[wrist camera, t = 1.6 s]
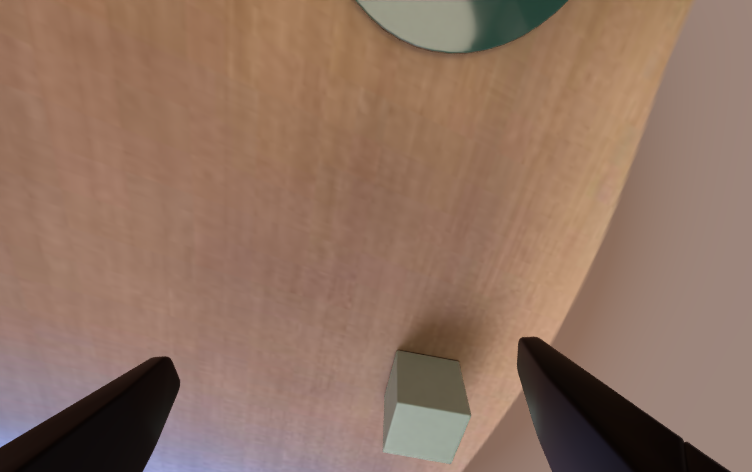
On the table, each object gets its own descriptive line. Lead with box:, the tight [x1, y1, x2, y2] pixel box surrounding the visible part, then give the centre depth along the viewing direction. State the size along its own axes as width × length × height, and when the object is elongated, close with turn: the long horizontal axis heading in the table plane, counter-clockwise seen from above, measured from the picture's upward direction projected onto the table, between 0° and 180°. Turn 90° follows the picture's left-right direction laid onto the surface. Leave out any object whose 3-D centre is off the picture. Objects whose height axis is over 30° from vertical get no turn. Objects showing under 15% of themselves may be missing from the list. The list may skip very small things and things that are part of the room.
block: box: [383, 350, 471, 464], centre depth 24 cm, size 4×4×4 cm
